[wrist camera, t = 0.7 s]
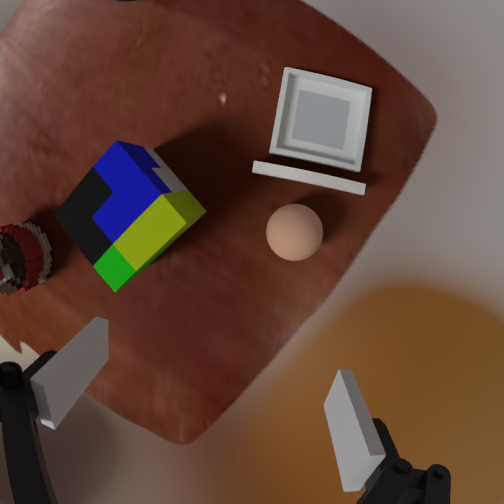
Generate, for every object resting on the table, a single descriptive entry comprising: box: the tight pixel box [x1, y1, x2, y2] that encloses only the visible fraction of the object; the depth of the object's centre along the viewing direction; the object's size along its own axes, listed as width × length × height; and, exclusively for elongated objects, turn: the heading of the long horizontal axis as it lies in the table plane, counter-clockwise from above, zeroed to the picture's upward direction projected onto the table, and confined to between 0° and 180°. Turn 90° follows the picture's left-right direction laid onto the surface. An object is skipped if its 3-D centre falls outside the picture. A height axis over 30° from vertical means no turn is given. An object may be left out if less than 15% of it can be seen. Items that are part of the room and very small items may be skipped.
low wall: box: [252, 161, 366, 195], centre depth 33 cm, size 1×12×4 cm, turn 80°
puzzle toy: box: [54, 141, 207, 292], centre depth 31 cm, size 10×10×10 cm
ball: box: [266, 204, 323, 261], centre depth 33 cm, size 6×6×6 cm
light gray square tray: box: [269, 67, 372, 172], centre depth 32 cm, size 10×10×2 cm
